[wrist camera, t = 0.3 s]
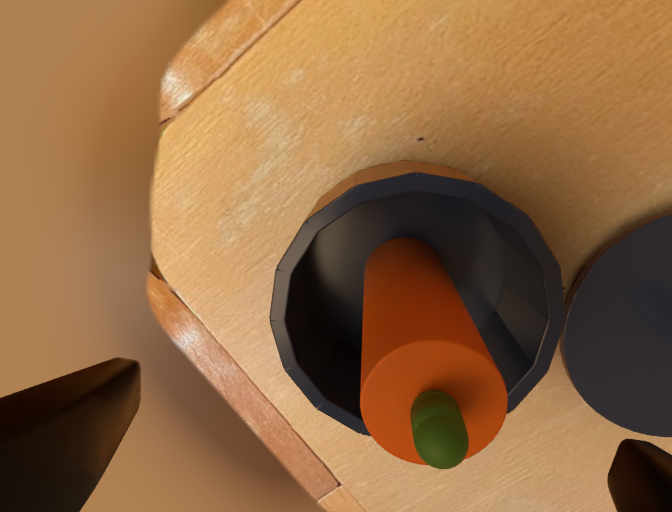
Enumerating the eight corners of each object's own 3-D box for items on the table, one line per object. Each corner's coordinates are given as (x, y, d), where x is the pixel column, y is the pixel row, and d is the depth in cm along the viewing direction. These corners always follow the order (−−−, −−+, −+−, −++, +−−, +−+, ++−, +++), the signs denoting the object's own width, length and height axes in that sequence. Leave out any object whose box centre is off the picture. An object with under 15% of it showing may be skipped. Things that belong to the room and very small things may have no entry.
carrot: (433, 317, 21) (507, 540, 10) (358, 303, 21) (345, 509, 10) (451, 244, 20) (558, 400, 9) (372, 230, 20) (376, 367, 9)
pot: (482, 384, 22) (517, 463, 17) (282, 347, 23) (256, 415, 17) (542, 182, 19) (606, 204, 14) (311, 143, 20) (290, 150, 14)
